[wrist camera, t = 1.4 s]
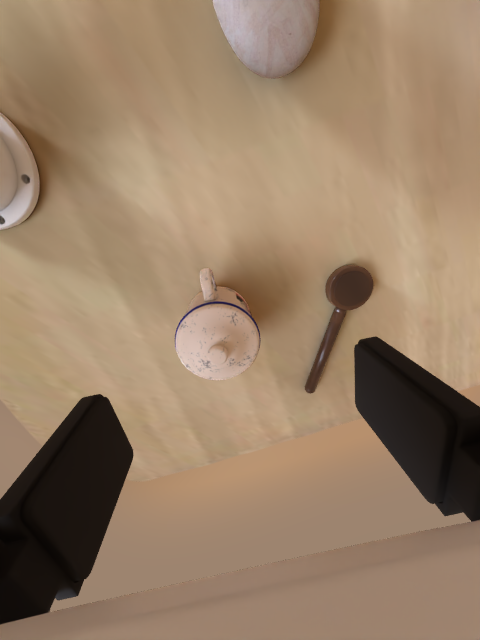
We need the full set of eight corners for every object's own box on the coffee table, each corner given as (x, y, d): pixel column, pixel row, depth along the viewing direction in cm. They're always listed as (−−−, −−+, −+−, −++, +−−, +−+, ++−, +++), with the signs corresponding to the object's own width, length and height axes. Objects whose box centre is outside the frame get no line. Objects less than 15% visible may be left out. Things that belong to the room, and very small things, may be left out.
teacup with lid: (255, 339, 35) (270, 388, 25) (194, 350, 35) (182, 404, 24) (242, 256, 31) (253, 270, 20) (172, 268, 31) (146, 289, 20)
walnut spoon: (323, 391, 40) (327, 398, 38) (289, 386, 39) (292, 392, 37) (374, 270, 33) (381, 272, 32) (334, 260, 32) (339, 261, 31)
